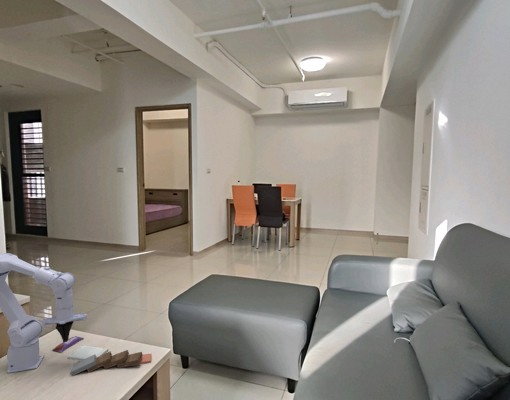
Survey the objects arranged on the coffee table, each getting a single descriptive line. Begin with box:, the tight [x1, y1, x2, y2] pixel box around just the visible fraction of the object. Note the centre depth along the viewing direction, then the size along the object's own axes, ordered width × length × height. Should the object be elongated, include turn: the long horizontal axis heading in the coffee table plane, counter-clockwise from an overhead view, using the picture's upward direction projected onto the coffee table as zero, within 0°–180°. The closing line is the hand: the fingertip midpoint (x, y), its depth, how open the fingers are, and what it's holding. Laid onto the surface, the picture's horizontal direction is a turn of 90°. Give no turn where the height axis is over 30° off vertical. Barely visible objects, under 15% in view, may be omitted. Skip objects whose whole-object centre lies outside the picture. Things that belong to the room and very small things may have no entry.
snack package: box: [52, 335, 84, 353], centre depth 132 cm, size 12×2×5 cm
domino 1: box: [69, 355, 97, 377], centre depth 115 cm, size 2×5×8 cm
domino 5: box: [129, 353, 152, 367], centre depth 121 cm, size 2×5×8 cm
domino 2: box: [86, 351, 113, 373], centre depth 117 cm, size 2×5×8 cm
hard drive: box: [67, 345, 109, 361], centre depth 125 cm, size 2×8×12 cm
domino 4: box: [116, 351, 143, 369], centre depth 119 cm, size 2×5×8 cm
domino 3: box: [102, 349, 130, 370], centre depth 118 cm, size 2×5×8 cm
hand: (65, 340), depth 117 cm, fingers closed
